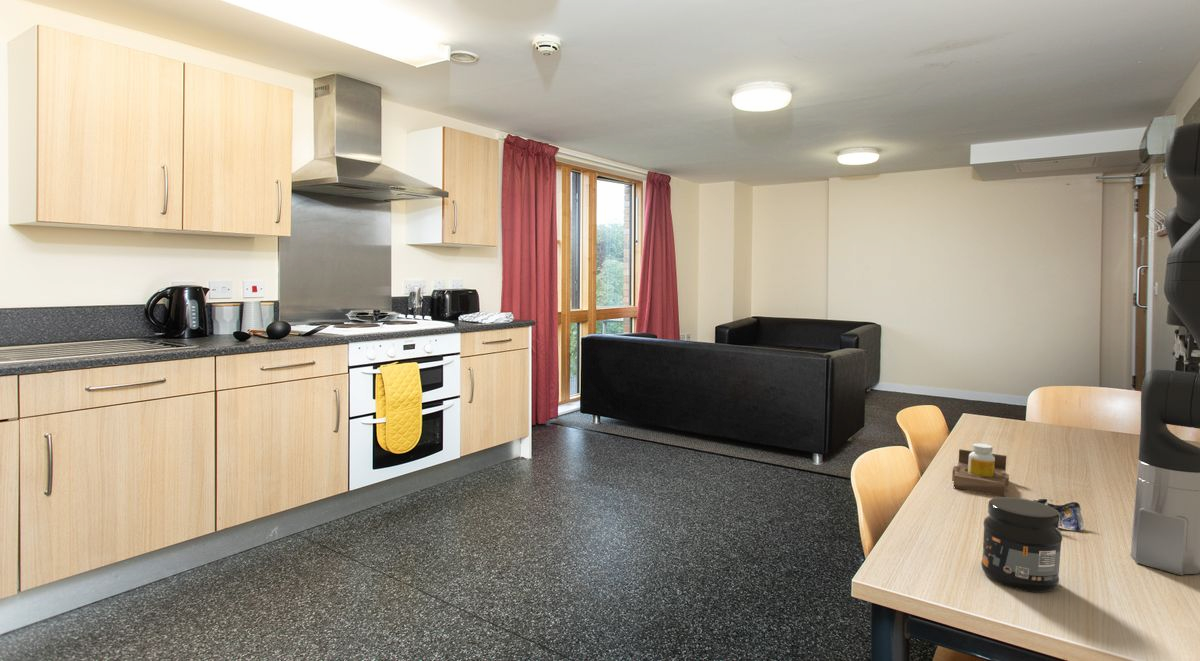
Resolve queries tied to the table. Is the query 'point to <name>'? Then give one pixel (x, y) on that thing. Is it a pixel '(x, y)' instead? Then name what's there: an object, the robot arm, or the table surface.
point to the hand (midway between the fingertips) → (1185, 380)
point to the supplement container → (1022, 544)
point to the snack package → (1067, 514)
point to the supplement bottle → (981, 460)
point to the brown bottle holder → (981, 483)
